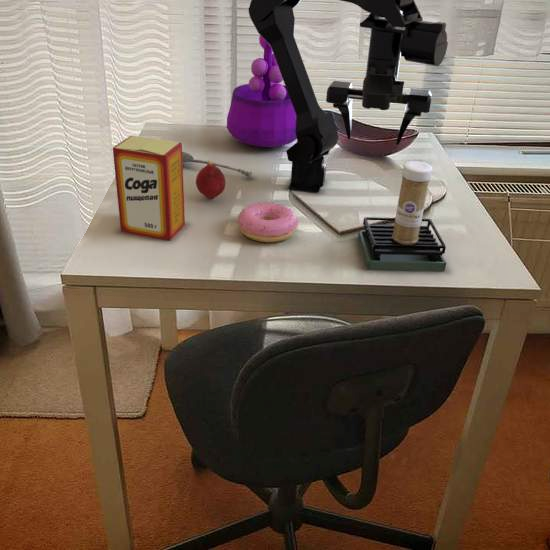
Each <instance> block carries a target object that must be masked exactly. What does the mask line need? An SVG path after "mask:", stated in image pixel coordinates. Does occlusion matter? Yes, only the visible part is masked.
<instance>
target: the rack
mask: <svg viewBox="0 0 550 550" xmlns="http://www.w3.org/2000/svg"><path fill="white" fill-rule="evenodd" d="M395 218H396V217H377V216H376V217H375V216H374V217H373V216H372V217H371V216H365V217H363V221H362V225H363V228H364V231H366V233H367V241H368V244H369V247H370V250H371V253H372V256H373V259H374V261H380V257H381V254H388V255H427V257H428V259H429V261H430V262H437V258H438V256H443V255H445V253H446V249H447V248H446V244H445V241H444V240H443V238H442V236H441V234H440V233H439V231H438V229H437V227H436V226H435V224H434V222H433V221H432V219H431V218H422V222H427V224H426V225H420V230H419V235H418V241H417V242H416V243H415V244H412V245H406V244H400V243H397V242H396V241H394V240H393V238H392V234H393V231H394V225H395V224H374V223H373V224H369V221H386V222H387V221H391V222H392V221H393V222H395ZM430 227H431V228H432V230H431V229H430ZM432 231H433V232H434V234H433V233H432ZM434 236H435V237H434ZM436 237H437V239H438V241H439V242H438V241H437V239H436ZM439 243H440V245H439Z"/></svg>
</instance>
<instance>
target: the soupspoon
mask: <svg viewBox="0 0 550 550" xmlns="http://www.w3.org/2000/svg"><path fill="white" fill-rule="evenodd" d="M182 161H183V163H196V164H197V163H199V164H205V165H207V163H208V160H202V159H201V160H200V159H194V157H193V155H192V154H190V153H188V152H185V151H182ZM212 164H213V165H214V166H216V167H218V168H224V169H227V170H232V171H235V172H237V173H239V174H241V175H244V176H245V177H247V179H248V180H249V179H251V177H252V175H253V171H248V170H245V169H241V168H236V167H232V166H229V165H225V164H220V163H216V162H212Z"/></svg>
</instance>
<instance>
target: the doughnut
mask: <svg viewBox="0 0 550 550" xmlns="http://www.w3.org/2000/svg"><path fill="white" fill-rule="evenodd" d="M236 221H237V225H238V229H239V231H240V232H241V233H242V234H243V235H244V236H245V237H246V238H248V239H250V240H253V241H255V242H261V243H278V242H282V241H285V240H287V239H289V238H290V237H292V236H293V235H294V234H295V232H296V231H297V227H298V225H299V222H298V218H297V214H296V213H295V212H294V211H293V210H292V209H291V208H290V207H288V206H286V205H284V204H281V203H276V202H267V201H266V202H256V203H252V204H250V205H248V206H245V208H243V209H241V211H240V212H239V214H237V219H236Z"/></svg>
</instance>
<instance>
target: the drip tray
mask: <svg viewBox="0 0 550 550" xmlns="http://www.w3.org/2000/svg"><path fill="white" fill-rule="evenodd" d="M357 240H358V243H359V246H360V249H361V252H362V253H361V254H362V256H363V259H364V262H365V266H366V268H367V270H368V271H369V270H370V271H412V272H413V271H416V272H417V271H418V272H446V267H447V261H446V260H445V258H444V256H443V255H442V256H438V258H437V262H430V261H429V259H428V257H427V255H388V254H381V257H380V261H374V259H373V256H372V253H371V250H370V247H369V244H368V241H367V233H366V231H365V230H360V229H359V230H358V233H357Z"/></svg>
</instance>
